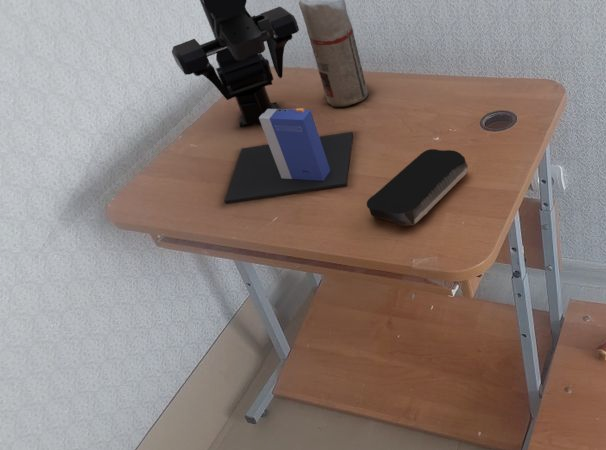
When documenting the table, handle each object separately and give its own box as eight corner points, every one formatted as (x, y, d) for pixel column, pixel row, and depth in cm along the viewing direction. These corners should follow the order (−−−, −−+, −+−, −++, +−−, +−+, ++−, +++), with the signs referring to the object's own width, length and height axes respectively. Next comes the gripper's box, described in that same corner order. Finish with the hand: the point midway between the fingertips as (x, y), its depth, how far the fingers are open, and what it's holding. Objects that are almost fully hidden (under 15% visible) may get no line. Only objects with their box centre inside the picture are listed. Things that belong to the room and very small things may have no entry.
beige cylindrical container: (326, 90, 136) (297, -9, 124) (368, 82, 136) (342, -18, 124) (326, 112, 130) (294, 10, 117) (369, 104, 130) (342, 1, 117)
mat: (242, 151, 124) (241, 148, 124) (353, 134, 123) (352, 131, 122) (225, 203, 113) (223, 201, 112) (346, 186, 111) (345, 183, 111)
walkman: (330, 170, 114) (310, 107, 107) (323, 181, 112) (302, 117, 105) (288, 168, 117) (265, 106, 109) (281, 178, 115) (256, 116, 107)
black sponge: (410, 237, 100) (405, 217, 97) (366, 220, 104) (360, 200, 102) (474, 173, 109) (471, 154, 106) (431, 160, 113) (427, 141, 111)
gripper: (171, 34, 95) (214, 130, 105) (296, -12, 101) (325, 83, 111) (152, 11, 102) (194, 103, 113) (270, -31, 108) (299, 60, 119)
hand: (254, 87), depth 113 cm, fingers open, 9 cm apart
